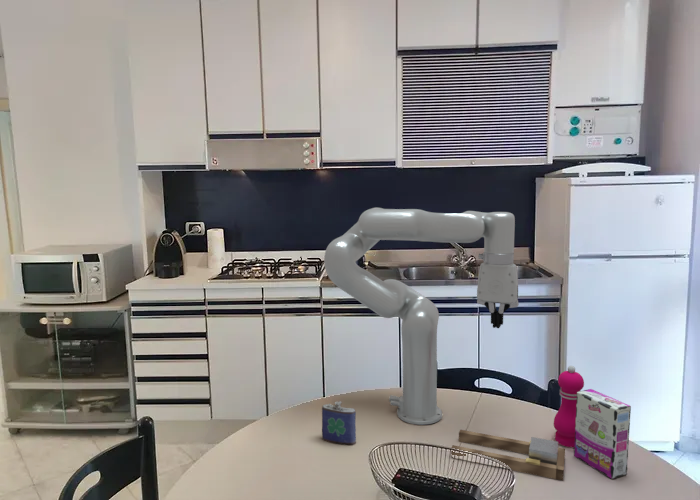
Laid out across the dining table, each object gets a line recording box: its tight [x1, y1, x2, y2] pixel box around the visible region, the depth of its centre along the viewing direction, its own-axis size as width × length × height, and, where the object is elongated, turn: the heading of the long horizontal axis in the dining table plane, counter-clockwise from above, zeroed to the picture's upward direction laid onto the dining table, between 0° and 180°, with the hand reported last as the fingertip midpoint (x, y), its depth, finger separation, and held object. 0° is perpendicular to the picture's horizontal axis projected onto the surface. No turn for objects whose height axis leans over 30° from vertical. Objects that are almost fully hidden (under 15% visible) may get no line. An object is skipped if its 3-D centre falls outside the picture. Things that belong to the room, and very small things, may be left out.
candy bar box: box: [573, 388, 632, 480], centre depth 121 cm, size 11×5×16 cm, turn 23°
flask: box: [321, 400, 357, 446], centre depth 134 cm, size 9×3×11 cm, turn 68°
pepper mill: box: [553, 365, 585, 448], centre depth 132 cm, size 7×7×20 cm
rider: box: [528, 436, 559, 465], centre depth 122 cm, size 6×6×5 cm
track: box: [450, 429, 566, 481], centre depth 125 cm, size 25×10×3 cm, turn 66°
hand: (496, 326), depth 140 cm, fingers closed
